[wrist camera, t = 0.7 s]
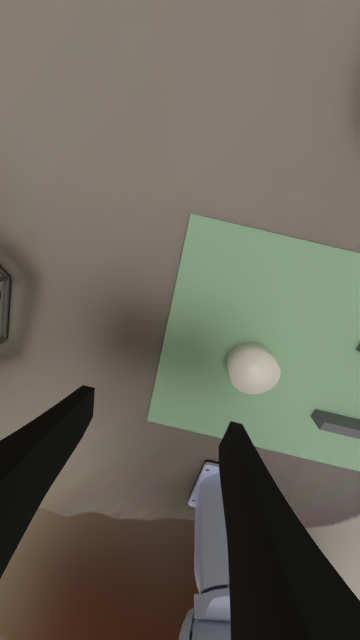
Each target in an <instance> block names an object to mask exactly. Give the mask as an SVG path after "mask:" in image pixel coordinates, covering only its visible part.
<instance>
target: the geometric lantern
mask: <svg viewBox="0 0 360 640" xmlns="http://www.w3.org/2000/svg"><path fill="white" fill-rule="evenodd" d="M0 274H1V275H2V276H1V277H0V282H1V281H5V285H4V307H3V329H2V337H1V338H0V344H1V343H2V342H3V341H4V340H6V339H7V328H8V311H9V293H10V276H9V275H8V274H7V273H6V272H5V271H4V270H3V269H2V268H1V267H0ZM0 298H1V292H0Z"/></svg>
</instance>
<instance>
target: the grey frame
mask: <svg viewBox="0 0 360 640" xmlns="http://www.w3.org/2000/svg"><path fill="white" fill-rule="evenodd" d="M356 350H357V351H359V352H360V343H359V345H358V346H357V348H356ZM311 418H312V419H313V421H314V422H315V424H316V425H317V427H318V429H319V430H323V431H327V432H331V433H336V434H340V435H344V436H348V437H352V438H357V439H360V419H355V418H351V417H347V416H343V415H339V414H334V413H330V412H326V411H322V410H318V409H315V410H314V412H313V413H312V415H311Z"/></svg>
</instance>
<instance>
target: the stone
mask: <svg viewBox="0 0 360 640" xmlns="http://www.w3.org/2000/svg"><path fill="white" fill-rule="evenodd" d="M226 362H227V368H228V372H229V376H230V380H231V383H232V384H233V386H234V387H235V388H236V389H237V390H239V391H241V392H243V393H246V394H261V393H264V392H267V391H269V390H270V389H272V388H273V387H274V386H275V385H276V384H277V383H278V381H279V379H280V375H281V370H280V367H279V365H278V363H277V362H276V360H275V359H274V357H273V356H272V354H271V353H270V351H269V350H268V349H267V348H266V347H265V346H264V345H262V344H260V343H256V342H245V343H241V344H239V345H237V346H236V347H234V348H233V349H232V350H231V351H230V352H229V354H228V356H227V361H226Z"/></svg>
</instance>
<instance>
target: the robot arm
mask: <svg viewBox="0 0 360 640" xmlns="http://www.w3.org/2000/svg"><path fill="white" fill-rule="evenodd" d="M94 390H95V388H92V387H88V386H84V385H83V386H81V387H80V388H78V389H77V390H76V391H74V392H73V393H71V394H70V395H69V396H67V397H66V398H65V399H63V400H62V401H60V402H59V403H58V404H56V405H55V406H53V407H52V408H50V409H49V410H47V411H46V412H45V413H43V414H42V415H40V416H39V417H37V418H36V419H34V420H33V421H31V422H30V423H28V424H26V425H25V426H23V427H22V428H20V429H19V430H17V431H15V432H14V433H12V434H11V435H9V436H7V437H6V438H4V439H2V440H1V441H0V578H1V576H2V574H3V572H4V571H5V569H6V567H7V565H8V563H9V561H10V559H11V557H12V555H13V553H14V552H15V550H16V548H17V546H18V544H19V542H20V540H21V538H22V537H23V535H24V533H25V531H26V529H27V527H28V525H29V524H30V522H31V520H32V518H33V516H34V514H35V512H36V511H37V509H38V507H39V505H40V504H41V502H42V500H43V498H44V497H45V495H46V493H47V492H48V490H49V488H50V487H51V485H52V484H53V482H54V481H55V479H56V477H57V476H58V474H59V473H60V471H61V470H62V468H63V467H64V465H65V463H66V462H67V460H68V459H69V457H70V456H71V454H72V453H73V451H74V449H75V448H76V446H77V445H78V443H79V442H80V440H81V438H82V437H83V435H84V433H85V431H86V429H87V427H88V425H89V423H90V421H91V419H92V417H93V407H94ZM188 504H189V506H192V507H195V558H194V560H195V562H194V564H195V565H194V566H195V567H194V568H195V578H196V583H197V587H198V590H199V593H200V594H195V595H194V609H191V610H189V612H188V614H187V616H186V619H185V621H184V623H183V625H182V628H181V632H180V637H179V640H360V601H359V599H358V598H357V597H356V596H355V595H354V593H353V592H352V591H351V590H350V588H349V587H348V586H347V585H346V583H345V582H344V580H343V579H342V578H341V576H340V575H339V574H338V573H337V571H336V570H335V569H334V567H333V566H332V565H331V563H330V562H329V561H328V559H327V558H326V557H325V556H324V554H323V553H322V552H321V550H320V549H319V547H318V546H317V545H316V543H315V542H314V541H313V539H312V538H311V536H310V535H309V534H308V532H307V531H306V529H305V528H304V526H303V525H302V523H301V522H300V521H299V519H298V518H297V516H296V515H295V513H294V512H293V510H292V509H291V507H290V506H289V504H288V503H287V501H286V499H285V498H284V496H283V495H282V493H281V491H280V490H279V488H278V487H277V485H276V483H275V482H274V480H273V478H272V477H271V475H270V473H269V471H268V470H267V468H266V466H265V464H264V463H263V461H262V459H261V457H260V456H259V454H258V452H257V450H256V448H255V447H254V445H253V443H252V441H251V439H250V437H249V435H248V434H247V432H246V430H245V428H244V426H243V424H241V423H237V422H232V421H230V423H229V426H228V428H227V430H226V432H225V434H224V436H223V439H222V441H221V443H220V445H219V464H216V463H212V462H206V463H205V464H204V466H203V468H202V470H201V473H200V475H199V477H198V480H197V482H196V484H195V487H194V489H193V491H192V494H191V496H190V498H189V501H188Z"/></svg>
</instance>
